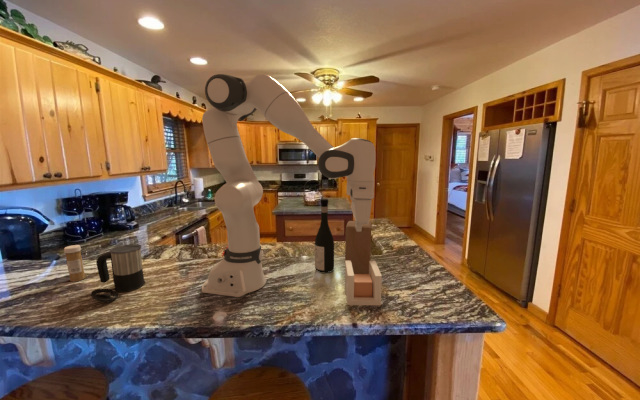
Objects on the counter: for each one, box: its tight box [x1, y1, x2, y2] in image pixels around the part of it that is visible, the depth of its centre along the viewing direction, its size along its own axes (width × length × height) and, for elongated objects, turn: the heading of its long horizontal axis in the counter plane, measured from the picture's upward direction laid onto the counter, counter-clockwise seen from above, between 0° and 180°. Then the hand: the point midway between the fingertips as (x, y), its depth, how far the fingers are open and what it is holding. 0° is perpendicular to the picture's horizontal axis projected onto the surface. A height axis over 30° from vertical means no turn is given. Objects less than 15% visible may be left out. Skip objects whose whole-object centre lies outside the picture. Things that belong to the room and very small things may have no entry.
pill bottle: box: [63, 244, 86, 283], centre depth 100 cm, size 5×5×13 cm
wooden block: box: [344, 220, 373, 274], centre depth 107 cm, size 10×10×20 cm
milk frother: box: [90, 243, 146, 303], centre depth 90 cm, size 14×16×15 cm
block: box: [354, 274, 372, 298], centre depth 88 cm, size 6×6×6 cm
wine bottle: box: [314, 198, 335, 274], centre depth 106 cm, size 8×8×30 cm
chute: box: [344, 260, 383, 306], centre depth 88 cm, size 11×12×10 cm
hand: (358, 230), depth 87 cm, fingers closed
